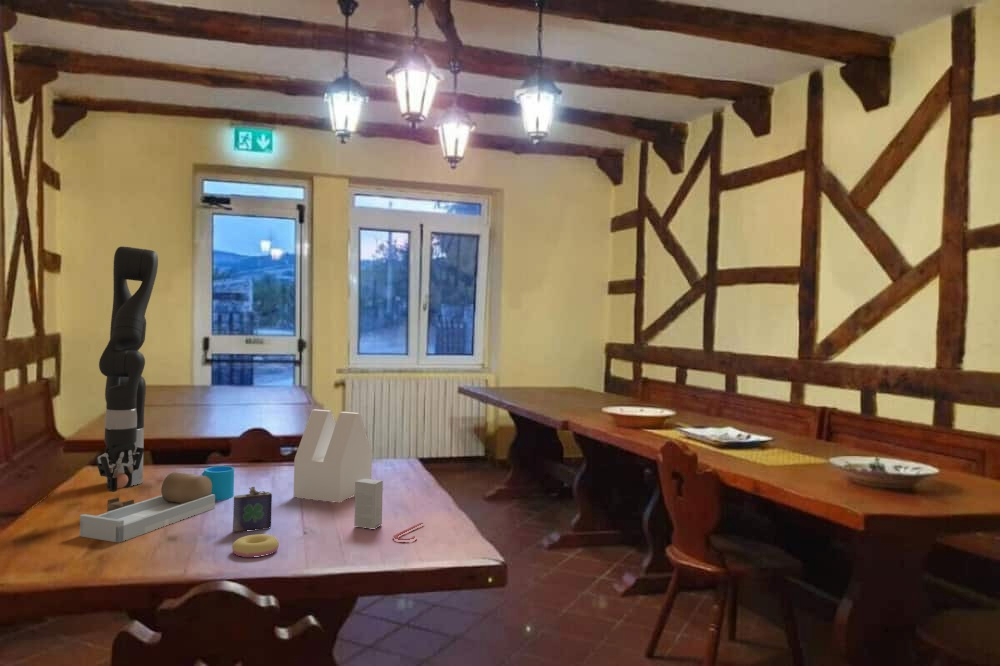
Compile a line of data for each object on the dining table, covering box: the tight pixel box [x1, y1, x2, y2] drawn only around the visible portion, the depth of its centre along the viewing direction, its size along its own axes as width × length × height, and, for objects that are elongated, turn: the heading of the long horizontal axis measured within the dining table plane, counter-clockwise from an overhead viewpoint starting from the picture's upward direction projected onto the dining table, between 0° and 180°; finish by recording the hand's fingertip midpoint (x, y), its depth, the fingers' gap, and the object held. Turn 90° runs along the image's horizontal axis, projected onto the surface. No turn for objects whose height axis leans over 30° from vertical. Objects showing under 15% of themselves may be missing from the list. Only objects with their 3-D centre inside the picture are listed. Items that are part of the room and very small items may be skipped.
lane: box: [79, 471, 216, 544], centre depth 181 cm, size 12×32×10 cm, turn 162°
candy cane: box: [392, 522, 424, 540], centre depth 178 cm, size 6×15×2 cm, turn 155°
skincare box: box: [353, 478, 384, 528], centre depth 183 cm, size 6×4×12 cm
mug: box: [200, 465, 235, 502], centre depth 207 cm, size 12×8×8 cm
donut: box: [231, 533, 280, 558], centre depth 161 cm, size 10×5×9 cm
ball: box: [116, 473, 128, 489], centre depth 188 cm, size 4×4×4 cm
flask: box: [232, 486, 273, 533], centre depth 177 cm, size 9×3×11 cm, turn 121°
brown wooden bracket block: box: [106, 496, 135, 513], centre depth 188 cm, size 6×3×3 cm, turn 72°
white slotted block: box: [293, 409, 373, 503], centre depth 215 cm, size 19×15×25 cm
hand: (119, 489), depth 188 cm, fingers closed on ball, 4 cm apart
